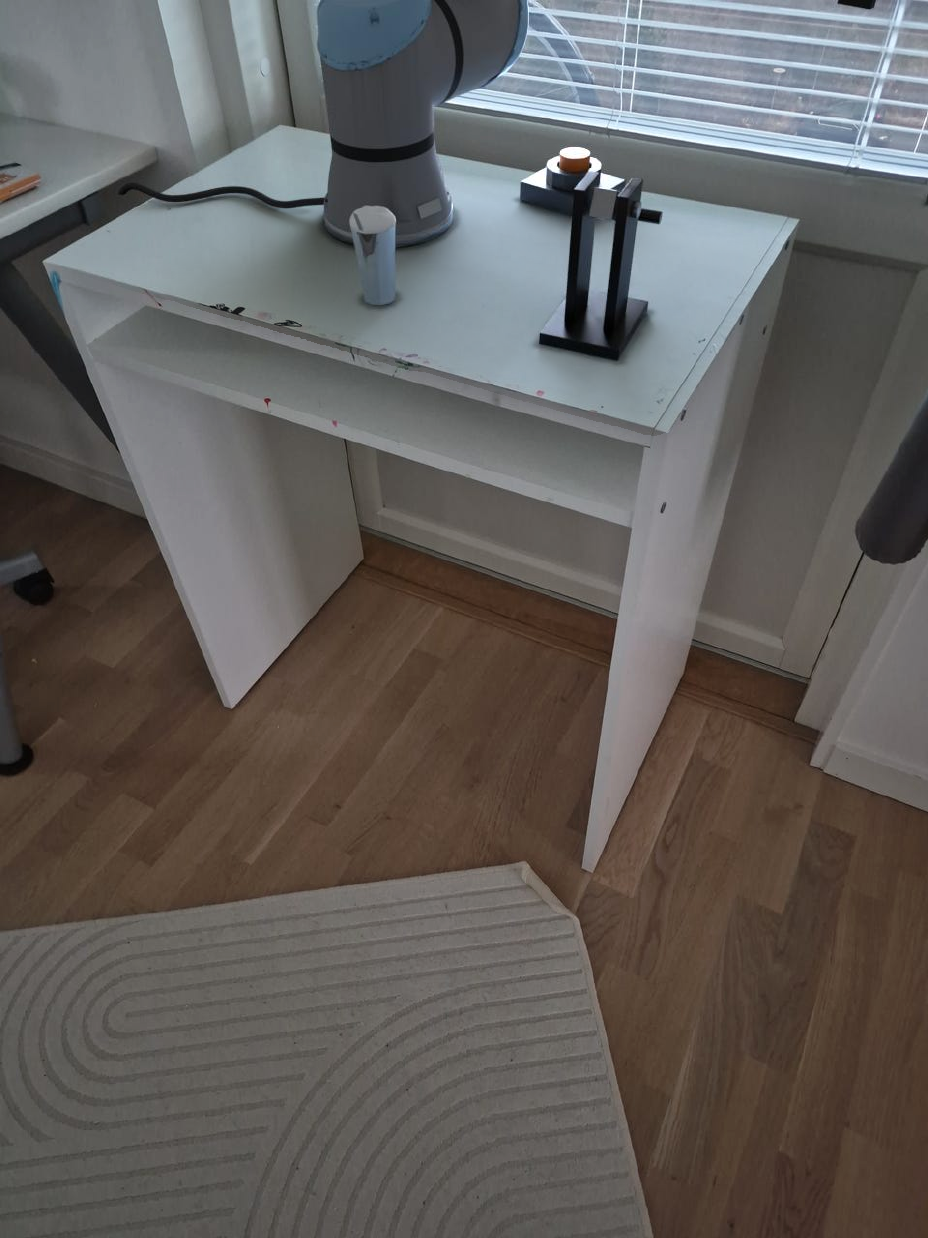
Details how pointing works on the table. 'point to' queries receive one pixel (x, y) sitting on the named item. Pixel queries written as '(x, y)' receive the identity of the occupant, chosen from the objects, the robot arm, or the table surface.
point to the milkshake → (375, 252)
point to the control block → (562, 185)
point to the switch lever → (607, 205)
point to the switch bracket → (585, 313)
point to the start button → (574, 159)
